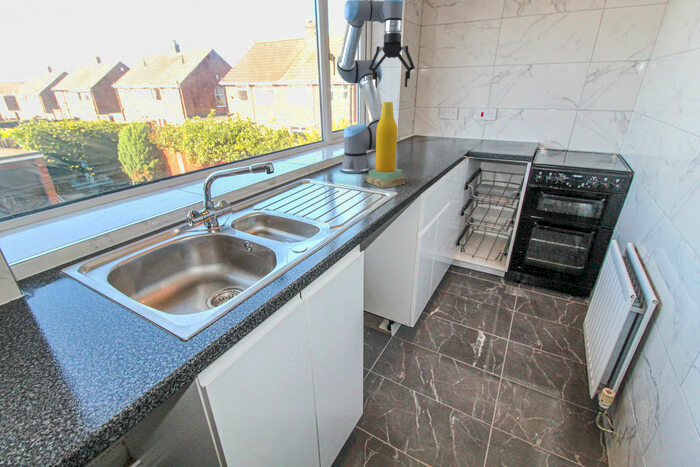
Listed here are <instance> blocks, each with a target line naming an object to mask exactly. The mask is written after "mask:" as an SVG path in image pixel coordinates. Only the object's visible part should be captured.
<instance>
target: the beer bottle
mask: <svg viewBox="0 0 700 467" xmlns="http://www.w3.org/2000/svg"><path fill="white" fill-rule="evenodd" d="M397 147H398V125H397V121H396V120H395V115H394V102H393V101H382V113H381V118H380V121H379V123H378V125H377V130H376V150H375V169H376V170H377V171H379V172H393V171H395V169H397Z"/></svg>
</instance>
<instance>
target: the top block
mask: <svg viewBox="0 0 700 467" xmlns="http://www.w3.org/2000/svg"><path fill="white" fill-rule="evenodd" d="M368 175H369V177H372V178H377V179H381V180H386V181H389V180H392V179H395V178H398V177H401V176H402V177H403V169H402V168H401V169H400V168H396V169H395V171H393V172H379V171H377V170H376V168H372V169H370V170H369V171H368Z"/></svg>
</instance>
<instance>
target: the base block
mask: <svg viewBox="0 0 700 467" xmlns="http://www.w3.org/2000/svg"><path fill="white" fill-rule="evenodd" d="M365 182H366V183H368V184H371V185H372V186H376V187H378V188H380V189H386V188H391V187H396V186H402V185H405V184H406V177H405V176H403V175H402V176H401V177H398V178H395V179H392V180H389V181H386V180H381V179H377V178H372V177H369V174H368V175H365Z"/></svg>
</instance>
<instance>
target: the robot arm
mask: <svg viewBox="0 0 700 467" xmlns="http://www.w3.org/2000/svg"><path fill="white" fill-rule="evenodd" d="M403 10H404V0H347V1H346V2H345V4H344V19H345V20H346V21H347V22H346V27H345V32H344V35H343V42H342V46H341V51H340V55H338V57H337V61H336V69H337V73H338V75H339V76H340V78H341V79H342V80H343V81H344V82H346V83H348V84H358V86H359V88H360V89H361V90H362V93H363V98H364V102H365V108H366V112H367V118H368V124H365V123H361V124H360V123H359V124H352V125H349V126H346V127H345V128H344V130H343V150H344V151H343V152H344V153H343V154H344V157H343V160H342V163H341V167H340V168H341V172H343V173H345V174H351V175H352V174H353V175H355V174H364V173H369V170H371V167H370V163H369V159H368V156H367V152H368V151H376V130H377V125H378V123H379V121H380V118H381V113H382V105H383V101H382V99H381V93H380V89H379V85H380V83H381V81H382V77H383V75H382V66H381V64H382V63H383V62H384V60H385V59H386V58H388V59H391V58H393V59H396V58H397V59H398V60H399V61H400V62H401V64H402V65H403V67H404V68H405V69H406V71H405V72H404V73H405V74H404V88H408V80H410V78H411V71H412V70H415V68H416V67H415V65H414V62H413V59H412V57H411V53H410V51H409V46H408V45H405V46H402V29H403V27H402V26H403ZM365 22H378V23H380V24H383V33H384V34H383V46H379V45H378V46H376V49H375V54H374V55H373V58H372V59H369V60H368V59H366V60H365V59H363V60H362V59H361V60H360V59H356V56H357V51H358V48H359V44H360V39H361V36H362V32H363V28H364V26H365ZM402 51H403V52H404V53H405V57H406V59H407V62H408V63H407V62H406V60H405V59H404V58H403V56H402V55H401V52H402ZM381 52H383V53H384V54H383V56H382V57H381V58H380V60H379V61H378V60H377V58H378V56H379V53H381ZM408 64H409V65H408Z"/></svg>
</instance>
